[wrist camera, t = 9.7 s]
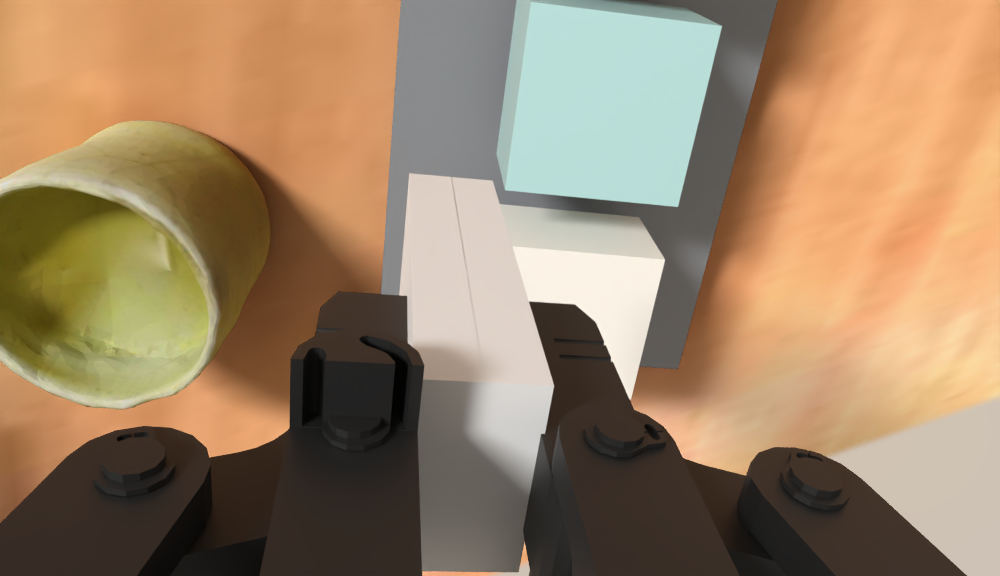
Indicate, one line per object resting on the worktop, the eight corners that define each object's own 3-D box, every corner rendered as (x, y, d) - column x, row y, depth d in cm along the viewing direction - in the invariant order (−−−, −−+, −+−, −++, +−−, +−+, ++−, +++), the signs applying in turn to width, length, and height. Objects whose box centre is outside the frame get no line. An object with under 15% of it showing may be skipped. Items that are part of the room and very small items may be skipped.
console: (379, 325, 37) (372, 388, 33) (428, -370, 26) (426, -425, 21) (666, 346, 39) (698, 409, 34) (833, -296, 27) (914, -331, 23)
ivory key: (472, 335, 33) (477, 389, 30) (489, 202, 31) (497, 245, 27) (610, 345, 34) (631, 399, 31) (639, 217, 32) (665, 259, 28)
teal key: (496, 153, 30) (504, 190, 26) (518, -14, 27) (531, 2, 24) (649, 169, 31) (677, 206, 27) (685, 7, 28) (722, 25, 24)
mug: (342, 154, 31) (210, 311, 24) (276, 313, 38) (156, 475, 30) (56, -9, 30) (-180, 102, 22) (39, 184, 37) (-149, 321, 29)
